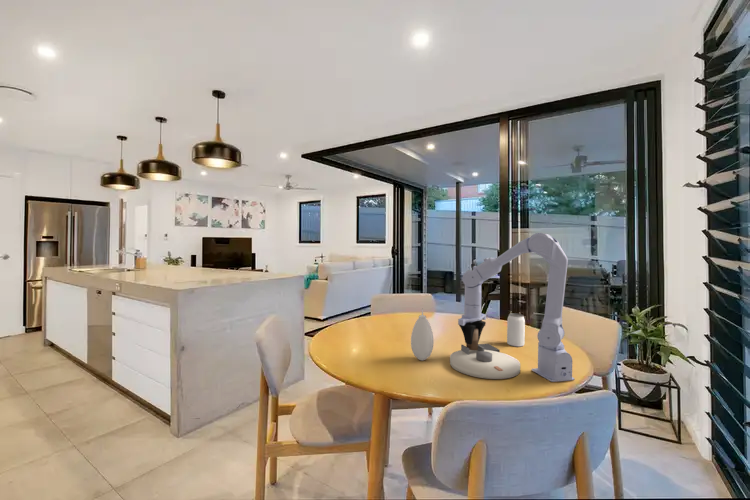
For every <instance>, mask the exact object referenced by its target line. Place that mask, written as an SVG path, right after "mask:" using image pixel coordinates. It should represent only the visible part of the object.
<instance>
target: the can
mask: <svg viewBox="0 0 750 500" xmlns="http://www.w3.org/2000/svg"><path fill="white" fill-rule="evenodd" d="M506 324H507V325H506V327H507V329H506V333H507V334H506V338H507V339H506V343H507V345H509V346H510V347H516V348H518V347H519V348H521V347H523V346H525V341H526V340H525V339H526V338H525V337H526V336H525V334H526V332H525V330H526V327H525V326H526V321H525V315H524V314H522V313H512V312H511V313H509V314H508V316H507V323H506Z"/></svg>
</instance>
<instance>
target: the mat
mask: <svg viewBox="0 0 750 500" xmlns="http://www.w3.org/2000/svg"><path fill="white" fill-rule="evenodd" d="M478 344H479V345H480V346H482V347H484V350H491V351H496V352H501V351H500V349H499V348H497V347H495V346H493V345H492V344H490V343H478Z"/></svg>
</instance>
